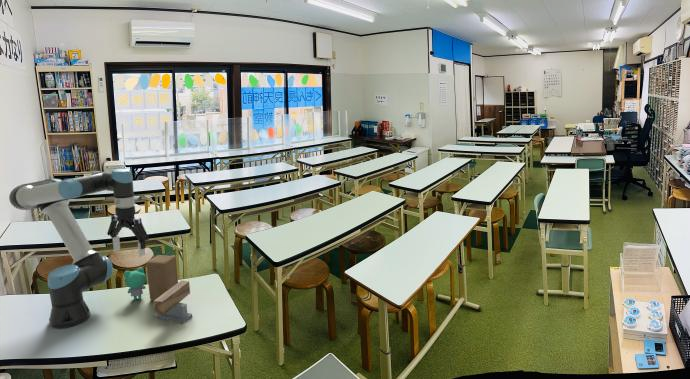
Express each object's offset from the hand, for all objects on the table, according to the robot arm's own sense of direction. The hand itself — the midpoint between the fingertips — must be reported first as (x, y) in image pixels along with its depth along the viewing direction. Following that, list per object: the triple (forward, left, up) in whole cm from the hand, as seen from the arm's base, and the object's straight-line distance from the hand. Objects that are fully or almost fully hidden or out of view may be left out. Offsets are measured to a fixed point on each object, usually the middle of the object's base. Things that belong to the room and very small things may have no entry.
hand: (129, 253), depth 186 cm
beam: (+17, +4, -23) cm, 29 cm away
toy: (-12, +12, -30) cm, 35 cm away
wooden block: (-1, +18, -30) cm, 35 cm away
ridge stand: (+17, +4, -30) cm, 35 cm away
